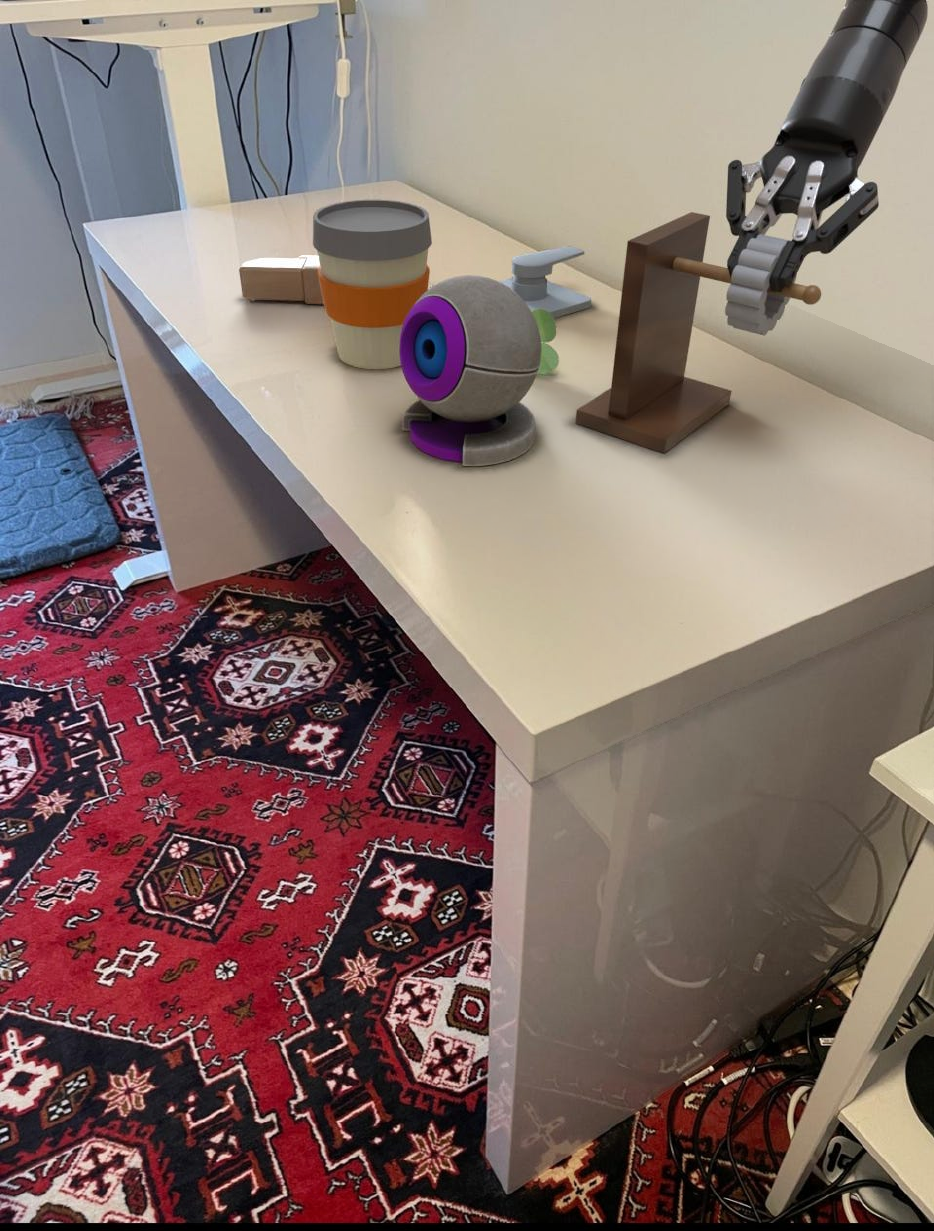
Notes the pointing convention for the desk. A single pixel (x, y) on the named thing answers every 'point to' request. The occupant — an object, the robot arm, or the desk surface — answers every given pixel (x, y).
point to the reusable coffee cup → (371, 274)
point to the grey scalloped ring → (756, 287)
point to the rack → (663, 340)
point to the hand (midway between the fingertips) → (754, 281)
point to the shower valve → (545, 282)
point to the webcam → (470, 371)
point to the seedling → (546, 340)
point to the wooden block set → (282, 279)
